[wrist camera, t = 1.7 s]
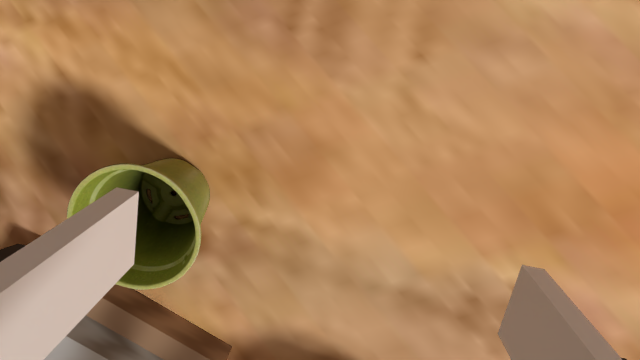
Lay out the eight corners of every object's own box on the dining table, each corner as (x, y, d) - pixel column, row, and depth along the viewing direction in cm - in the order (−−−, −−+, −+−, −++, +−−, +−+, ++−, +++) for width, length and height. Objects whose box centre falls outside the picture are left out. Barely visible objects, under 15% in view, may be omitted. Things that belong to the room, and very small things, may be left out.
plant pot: (214, 129, 38) (177, 153, 30) (241, 231, 41) (214, 279, 33) (110, 149, 39) (46, 177, 31) (143, 248, 42) (93, 298, 34)
